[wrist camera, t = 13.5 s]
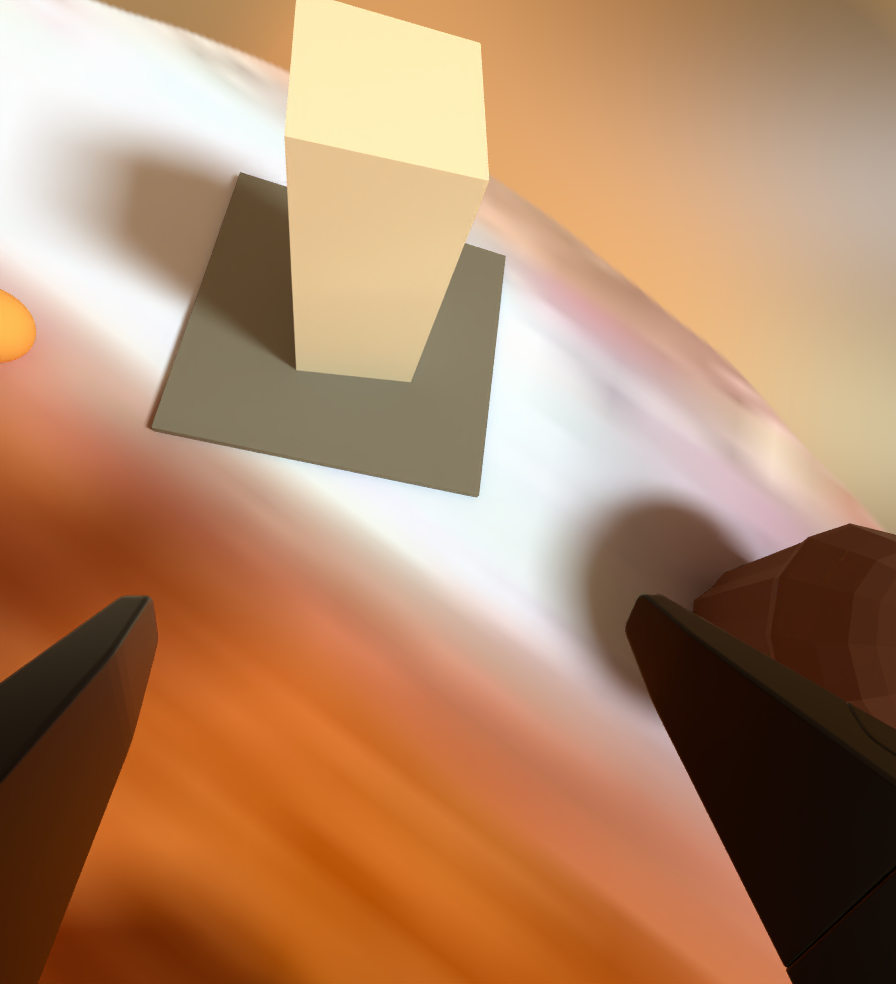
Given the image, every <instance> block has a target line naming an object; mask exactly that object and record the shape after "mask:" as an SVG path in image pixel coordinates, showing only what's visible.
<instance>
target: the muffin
mask: <svg viewBox="0 0 896 984" xmlns="http://www.w3.org/2000/svg"><path fill="white" fill-rule="evenodd" d="M693 613H694V614H696V615H698V616H699V617H701V618H703V619H705V620H706V621H708V622H710V623H712V624H713V625H715V626H717V627H718V628H720V629H722V630H724V631H725V632H727V633H729V634H731V635H732V636H734V637H736V638H738V639H739V640H741V641H743V642H744V643H746V644H748V645H750V646H751V647H753V648H755V649H757V650H758V651H760V652H762V653H764V654H765V655H767V656H769V657H770V658H772V659H774V660H776V661H777V662H779V663H781V664H783V665H784V666H786V667H788V668H790V669H791V670H793V671H795V672H796V673H798V674H800V675H802V676H803V677H805V678H807V679H809V680H810V681H812V682H814V683H816V684H817V685H819V686H821V687H822V688H824V689H826V690H828V691H829V692H831V693H833V694H835V695H836V696H838V697H840V698H842V699H843V700H844V701H845V702H846V703H850V704H852V705H854V706H856V707H857V708H859V709H861V710H862V711H864V712H866V713H868V714H869V715H871V716H873V717H875V718H876V719H878V720H880V721H882V722H884V723H885V724H887V725H889V726H891V727H892V728H894V729H896V535H894V534H890V533H886V532H882V531H878V530H874V529H870V528H866V527H862V526H858V525H854V524H847V525H844V526H841V527H838V528H835V529H832V530H829V531H826V532H822V533H819V534H816V535H813V536H810V537H808V538H807V539H806V540H804V541H803V542H802V543H799V544H797V545H794V546H792V547H789V548H787V549H784V550H781V551H779V552H776V553H774V554H771V555H769V556H766V557H764V558H761V559H759V560H756V561H753V562H751V563H748V564H746V565H743V566H741V567H738V568H736V569H733V570H730V571H728V572H725V573H724V574H723V575H722V577H721V578H720V579H719V580H718V581H717V582H716V583H715V585H714V586H713V587H712V588H711V589H710V590H708V591H707V592H705V593H704V594H703V595H701V596H700V597H698V598H697V599H696V600H694V611H693Z"/></svg>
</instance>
